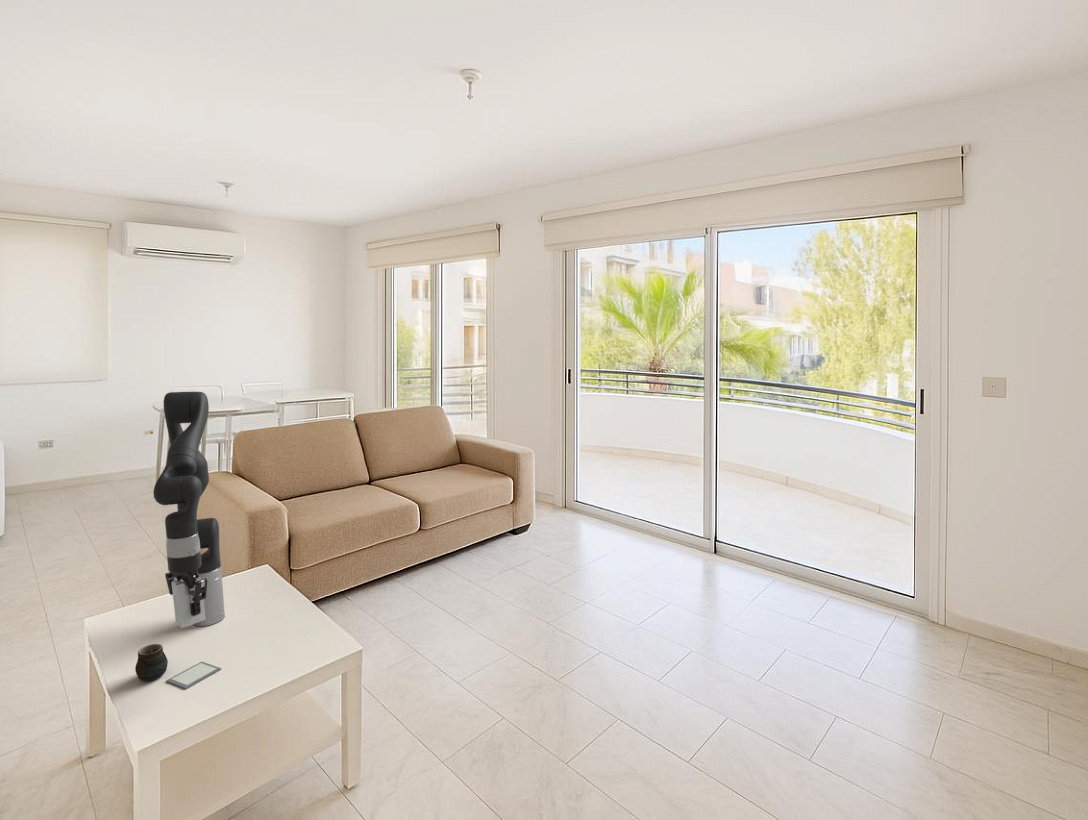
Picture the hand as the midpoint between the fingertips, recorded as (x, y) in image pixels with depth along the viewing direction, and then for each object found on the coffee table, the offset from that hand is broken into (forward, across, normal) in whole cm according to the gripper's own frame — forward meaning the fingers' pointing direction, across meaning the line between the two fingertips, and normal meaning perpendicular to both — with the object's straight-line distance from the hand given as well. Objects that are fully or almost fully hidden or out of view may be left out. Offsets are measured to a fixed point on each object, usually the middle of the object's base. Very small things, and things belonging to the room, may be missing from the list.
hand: (189, 612), depth 158 cm
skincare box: (+3, 0, 0) cm, 3 cm away
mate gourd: (+18, -9, -5) cm, 21 cm away
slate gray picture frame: (+18, 0, 0) cm, 18 cm away
